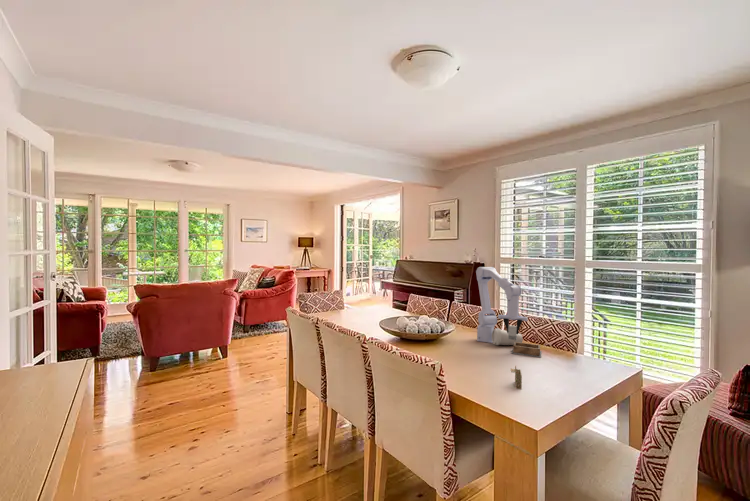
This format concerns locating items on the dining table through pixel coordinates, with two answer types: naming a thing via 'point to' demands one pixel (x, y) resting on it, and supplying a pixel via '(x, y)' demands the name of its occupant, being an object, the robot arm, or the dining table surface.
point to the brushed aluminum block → (512, 332)
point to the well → (526, 348)
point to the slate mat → (527, 354)
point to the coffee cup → (504, 337)
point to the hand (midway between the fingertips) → (512, 333)
